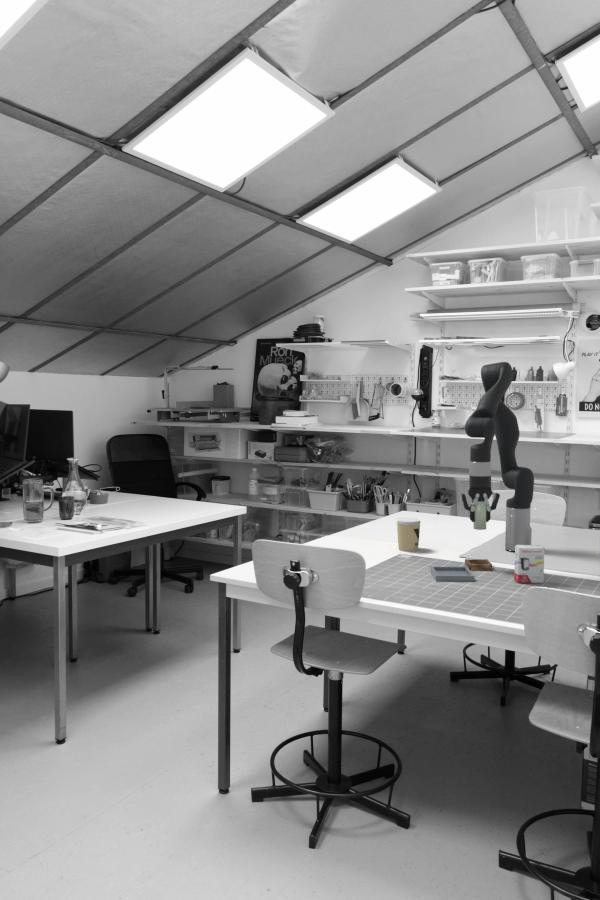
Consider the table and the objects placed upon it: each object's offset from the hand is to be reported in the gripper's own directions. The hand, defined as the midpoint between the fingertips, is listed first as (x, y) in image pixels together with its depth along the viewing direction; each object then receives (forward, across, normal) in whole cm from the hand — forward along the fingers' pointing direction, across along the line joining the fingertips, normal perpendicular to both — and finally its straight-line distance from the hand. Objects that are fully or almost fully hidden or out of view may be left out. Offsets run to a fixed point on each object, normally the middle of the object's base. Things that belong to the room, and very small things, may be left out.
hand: (479, 521), depth 252 cm
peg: (+3, 0, 0) cm, 3 cm away
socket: (+17, 0, 0) cm, 17 cm away
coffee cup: (+17, +22, -28) cm, 40 cm away
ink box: (+17, -12, +18) cm, 28 cm away
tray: (+16, +12, +12) cm, 24 cm away
